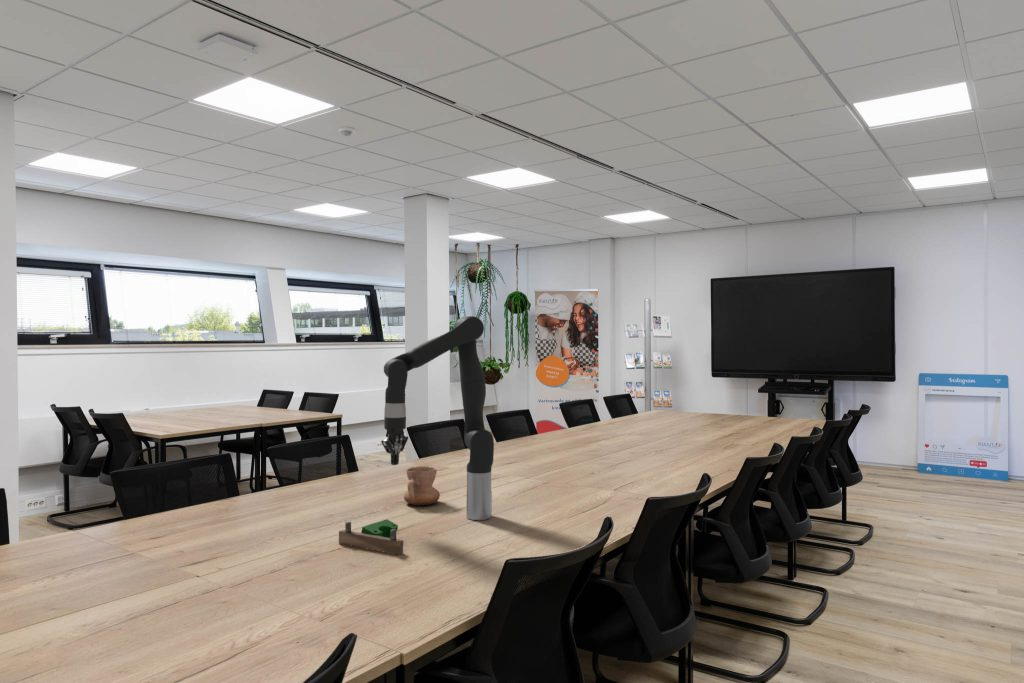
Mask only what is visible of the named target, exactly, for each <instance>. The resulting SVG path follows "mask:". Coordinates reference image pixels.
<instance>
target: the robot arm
mask: <svg viewBox="0 0 1024 683" xmlns="http://www.w3.org/2000/svg"><path fill="white" fill-rule="evenodd" d="M484 330H485V325H484V323H483V321H482V320H481V319H480V318H479V317H477V316H475V315H474V316H473V315H469V316H468V315H467V316H462V317H460V318H458V319H457V320H456V322H455V323H454V327H453V329H450V330H449V331H447V332H445V333H443V334H440V335H439V336H437V337H434V338H431V339H430V340H429V339H428V340H427V341H425V342H424V341H423V343H420V344H418V345H417V346H415V347H413V348H411V349H410V350H408V351H406V352H404V353H401V354H399V355H397V356H395V357H392V358H390V359H389V360H388V361H387V362H385V363H384V365H383V373H384V374H385V376H386V377H387V387H386V388H385V394H384V395H385V396H384V397H385V398H384V400H385V401H384V403H385V404H384V409H383V411H384V412H383V413H384V414H383V415H384V419H383V420H384V423H383V424H384V429H385V430H386V433H385V438H384V439H381V441H380V442H381V444H382V447H383V448H384V450H385V452H386V453H387V454H390V464H391V466H397V465H399V461H400V453H401V452H403V451H404V449H405V447H406V444H407V443H408V440H409V436H406V435H405V431H404V430H406V428H407V425H406V424H407V406H406V388H407V381H408V376H409V375H408V374H409V373H408V372H409V371H411V370H414V369H417V368H421V367H422V366H424V365H426V364H428V363H430V362H432V361H434V360H435V359H436V358H438V357H441V356H442V355H444V354H446V353H447V352H449V351H451V350H453V349H455V348H457V351H458V365H459V376H460V390H461V398H462V406H463V407H462V408H463V415H464V416H463V418H464V444H465V446H466V448H467V449H469V462H467V464H466V518H467V519H468V520H472V521H484V520H489V519H491V518H492V512H493V510H492V509H493V508H492V507H493V505H492V504H493V499H492V498H493V492H492V466H493V464H494V453H495V452H494V451H495V443H494V442H495V441H494V437H493V434H492V433H491V432H490V431H489V430H487V429H486V428H485V422H484V407H485V401H486V395H487V387H486V377H485V373H484V369H483V366H482V364H481V361H480V358H479V355H478V351H477V340H478V339H479V338H481V337H482V335H483V334H484Z"/></svg>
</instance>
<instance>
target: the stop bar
mask: <svg viewBox="0 0 1024 683" xmlns="http://www.w3.org/2000/svg"><path fill="white" fill-rule="evenodd" d="M344 528H345V529H341V530H339V531H338V544H339V543H340V544H339V545H343V544H345V545H344V546H348V545H352V546H351V547H353V546H356V547H355V548H359V547H362V548H361V549H364V548H368V549H367V550H369V549H373V550H372V551H375V550H379V551H378V552H380V551H384V552H383V553H385V552H388V553H387V554H391V553H393V554H392V555H396V554H398V556H400V555H403V554H404V540H403V539H397V531H396V529H392V530H390V538H387V537H382V536H376V535H370V534H364V533H361V532H357V531H353V530H352V522H351V521H346V522H345V527H344ZM402 553H403V554H402Z"/></svg>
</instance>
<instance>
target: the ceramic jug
mask: <svg viewBox="0 0 1024 683" xmlns="http://www.w3.org/2000/svg"><path fill="white" fill-rule="evenodd" d="M405 471H406V476H407V479H408V481H407V491H406V492H405V493H404V494H403V500H404V501H405V502H406V503H407V504H410V505H412V506H420V505H422V506H430V505H433V504H435V503H436V502H438V500H440V497H441V494H440V491H439V490H438V489H437V488H435V487H433V485H434V481H435V480H436V476H437V471H438V468H437V467H435V466H429V465H419V466H412V467H409V468H407V469H406V470H405Z"/></svg>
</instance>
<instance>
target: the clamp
mask: <svg viewBox="0 0 1024 683" xmlns="http://www.w3.org/2000/svg"><path fill="white" fill-rule="evenodd" d="M392 529H396V532H398V529H399V525H398V524H397V523H395V522H393V521H391V520H390V519H383V520H380V521H377V522H374V523H371V524H368V525H364V526H361V532H360V533H364V534H370V535H376V536H382V537H387V538H390V530H392Z"/></svg>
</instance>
